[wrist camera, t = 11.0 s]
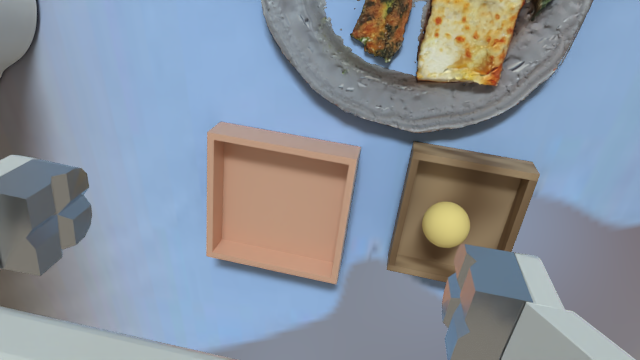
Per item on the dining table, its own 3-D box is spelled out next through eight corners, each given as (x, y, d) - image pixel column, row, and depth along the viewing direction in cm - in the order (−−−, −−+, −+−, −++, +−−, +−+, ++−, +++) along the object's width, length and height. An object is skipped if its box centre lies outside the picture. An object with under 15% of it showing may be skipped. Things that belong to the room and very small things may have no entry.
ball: (429, 226, 43) (409, 243, 40) (439, 188, 41) (419, 203, 38) (470, 244, 41) (452, 263, 38) (482, 205, 39) (464, 222, 36)
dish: (218, 240, 48) (206, 256, 45) (220, 121, 42) (207, 132, 40) (340, 266, 46) (336, 284, 44) (361, 146, 41) (357, 159, 38)
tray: (388, 254, 45) (386, 269, 43) (413, 141, 40) (413, 151, 37) (491, 275, 44) (496, 292, 41) (532, 161, 38) (539, 174, 36)
